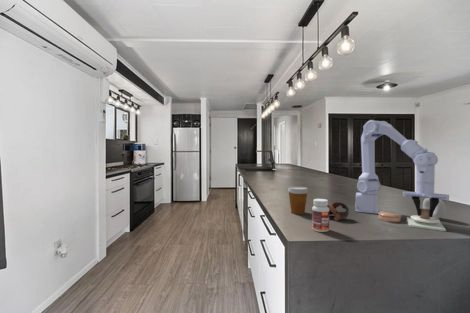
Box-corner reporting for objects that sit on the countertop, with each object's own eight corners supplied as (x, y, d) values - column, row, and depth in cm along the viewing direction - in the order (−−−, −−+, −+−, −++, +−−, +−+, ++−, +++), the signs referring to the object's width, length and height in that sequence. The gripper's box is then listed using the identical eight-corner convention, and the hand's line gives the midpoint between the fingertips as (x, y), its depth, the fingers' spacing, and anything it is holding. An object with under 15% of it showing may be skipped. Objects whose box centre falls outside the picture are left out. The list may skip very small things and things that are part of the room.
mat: (409, 226, 97) (409, 224, 97) (406, 218, 108) (406, 216, 108) (445, 231, 91) (445, 229, 91) (439, 222, 102) (439, 220, 102)
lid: (411, 220, 98) (412, 210, 98) (409, 215, 106) (409, 205, 106) (441, 224, 93) (441, 213, 93) (437, 218, 101) (437, 208, 101)
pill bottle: (324, 233, 89) (324, 202, 89) (308, 229, 94) (308, 199, 93) (332, 229, 93) (332, 200, 93) (317, 226, 98) (317, 197, 97)
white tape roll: (447, 221, 103) (448, 197, 103) (439, 221, 103) (440, 198, 103) (427, 215, 113) (428, 193, 113) (420, 215, 113) (420, 193, 113)
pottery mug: (344, 216, 114) (350, 203, 109) (344, 231, 106) (351, 217, 102) (317, 208, 117) (322, 195, 112) (316, 222, 109) (321, 208, 105)
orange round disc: (377, 220, 105) (377, 214, 105) (378, 216, 113) (378, 210, 112) (402, 223, 101) (402, 217, 101) (400, 218, 108) (400, 213, 108)
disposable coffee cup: (296, 216, 113) (297, 189, 112) (283, 211, 121) (283, 187, 121) (312, 213, 117) (312, 188, 117) (298, 209, 126) (298, 185, 125)
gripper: (404, 182, 99) (403, 215, 100) (451, 184, 92) (450, 221, 92) (402, 180, 106) (402, 212, 106) (447, 182, 98) (446, 216, 98)
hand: (424, 216), depth 99 cm, fingers closed on lid, 3 cm apart
